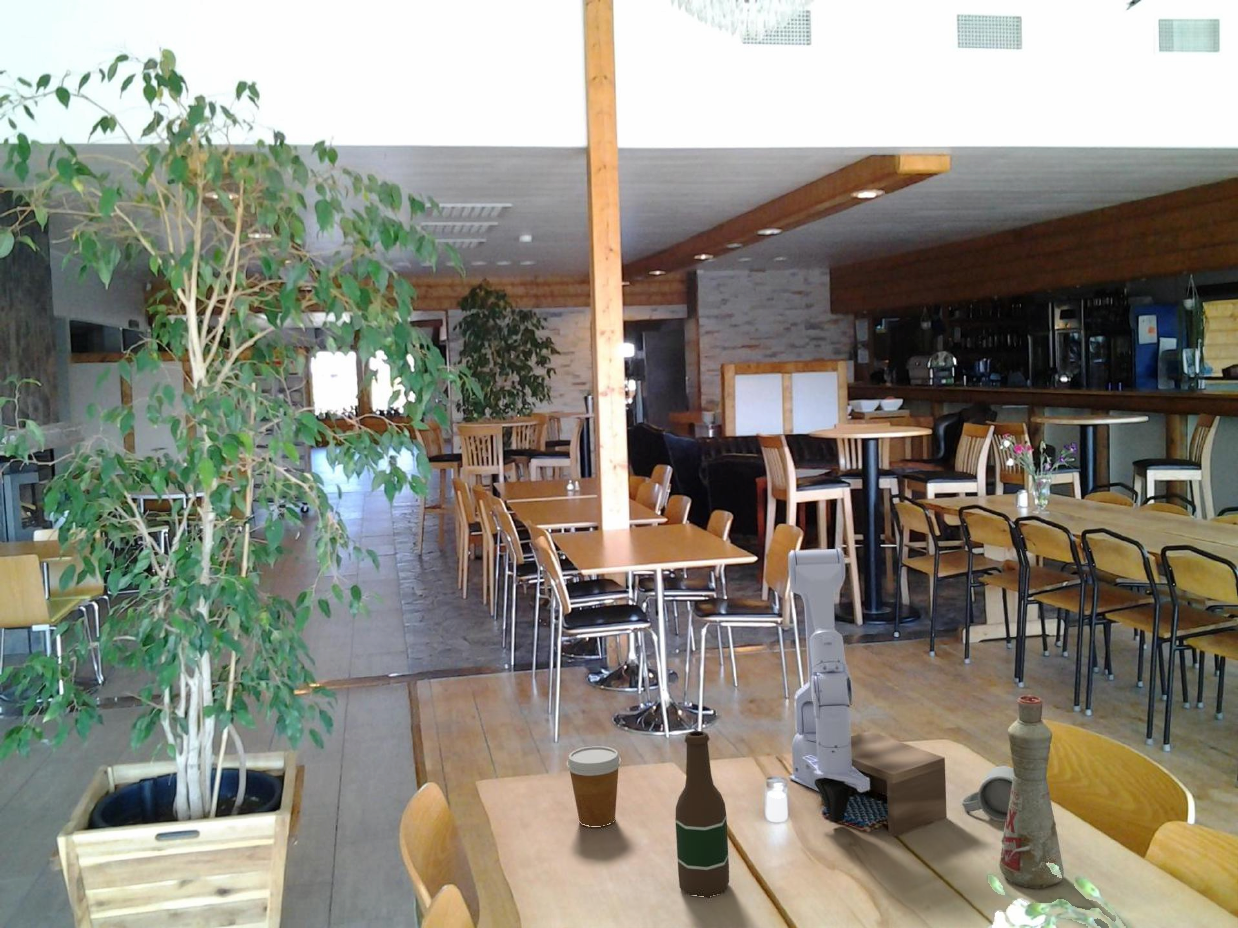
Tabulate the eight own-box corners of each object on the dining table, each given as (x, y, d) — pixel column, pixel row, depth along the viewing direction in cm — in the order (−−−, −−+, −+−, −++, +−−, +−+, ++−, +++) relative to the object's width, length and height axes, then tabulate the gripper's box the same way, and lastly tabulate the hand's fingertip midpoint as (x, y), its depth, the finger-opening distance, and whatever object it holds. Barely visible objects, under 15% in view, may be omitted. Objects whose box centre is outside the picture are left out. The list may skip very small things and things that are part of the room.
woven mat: (906, 817, 198) (906, 806, 197) (867, 836, 191) (866, 824, 191) (858, 801, 206) (858, 790, 205) (818, 819, 199) (818, 807, 199)
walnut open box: (821, 803, 204) (819, 745, 203) (871, 786, 211) (869, 731, 210) (895, 836, 189) (893, 774, 188) (946, 817, 195) (944, 757, 194)
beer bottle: (675, 877, 179) (667, 727, 176) (725, 873, 179) (717, 723, 177) (682, 901, 171) (674, 744, 169) (734, 896, 172) (726, 739, 169)
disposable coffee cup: (561, 828, 200) (557, 761, 199) (583, 807, 209) (579, 743, 207) (612, 834, 196) (608, 766, 195) (632, 812, 205) (628, 747, 204)
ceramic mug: (1029, 805, 198) (1027, 761, 198) (1026, 823, 191) (1024, 778, 190) (965, 800, 203) (963, 758, 202) (960, 818, 195) (958, 774, 194)
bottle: (1057, 896, 166) (1053, 706, 163) (993, 883, 171) (988, 699, 168) (1069, 871, 173) (1065, 690, 171) (1007, 860, 178) (1003, 683, 176)
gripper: (787, 736, 197) (790, 812, 198) (845, 759, 185) (849, 840, 186) (818, 727, 201) (821, 802, 202) (878, 749, 188) (881, 829, 190)
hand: (836, 820), depth 194 cm, fingers closed
